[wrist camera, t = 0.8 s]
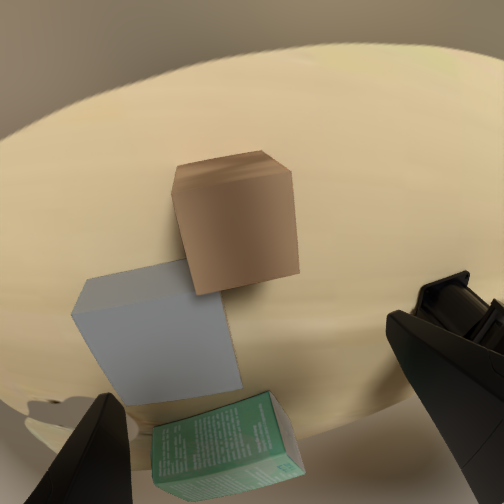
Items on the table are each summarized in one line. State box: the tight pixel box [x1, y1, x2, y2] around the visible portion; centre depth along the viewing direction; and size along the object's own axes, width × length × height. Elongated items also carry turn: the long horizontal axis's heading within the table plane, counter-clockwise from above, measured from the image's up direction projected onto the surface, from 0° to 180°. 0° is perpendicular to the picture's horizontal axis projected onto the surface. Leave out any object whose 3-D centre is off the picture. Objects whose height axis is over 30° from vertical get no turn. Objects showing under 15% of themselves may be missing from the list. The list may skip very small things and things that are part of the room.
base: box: [71, 259, 243, 406], centre depth 20 cm, size 9×9×4 cm
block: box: [171, 150, 300, 295], centre depth 16 cm, size 5×5×6 cm
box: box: [151, 391, 306, 502], centre depth 26 cm, size 7×14×8 cm, turn 113°
